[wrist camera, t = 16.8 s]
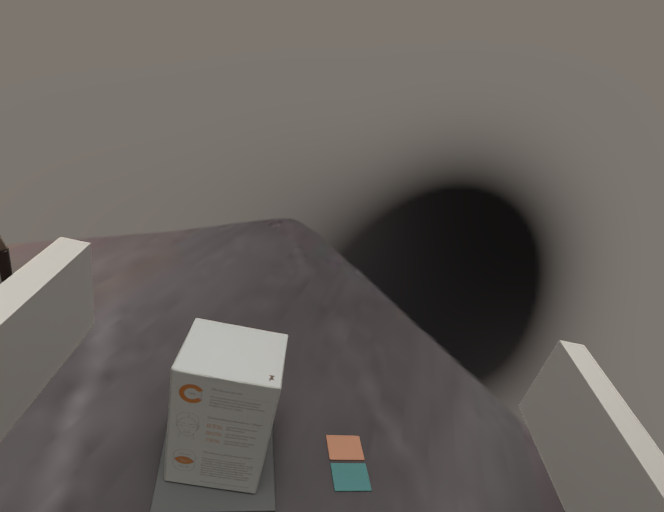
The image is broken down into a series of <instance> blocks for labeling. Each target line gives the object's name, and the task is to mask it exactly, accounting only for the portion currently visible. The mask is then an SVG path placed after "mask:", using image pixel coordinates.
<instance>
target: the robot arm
mask: <svg viewBox="0 0 664 512" xmlns="http://www.w3.org/2000/svg"><path fill="white" fill-rule="evenodd" d="M93 326H94V309H93V284H92V260H91V243H88V242H83V241H78V240H73V239H68V238H64V237H60V238H58V239H57V240H56V241H55V242H53V243H52V244H51V245H49V246H48V247H47V248H46V249H44V250H43V251H42V252H41V253H39V254H38V255H37V256H35V257H34V258H33V259H32V260H30V261H29V262H28V263H27V264H25V265H24V266H23V267H21V268H20V269H19V270H18V271H16V272H15V273H14V274H13V275H11V276H10V277H9V278H7V279H6V280H5V281H4V282H2V283H1V284H0V442H1V441H2V440H3V438H4V437H5V436H6V435H7V433H8V432H9V431H10V430H11V428H12V427H13V426H14V425H15V423H16V422H17V421H18V420H19V418H20V417H21V416H22V415H23V413H24V412H25V411H26V410H27V408H28V407H29V406H30V405H31V403H32V402H33V401H34V400H35V399H36V397H37V396H38V395H39V394H40V392H41V391H42V390H43V389H44V387H45V386H46V385H47V384H48V382H49V381H50V380H51V379H52V377H53V376H54V375H55V374H56V372H57V371H58V370H59V369H60V367H61V366H62V365H63V364H64V362H65V361H66V360H67V359H68V357H69V356H70V355H71V354H72V352H73V351H74V350H75V349H76V347H77V346H78V345H79V344H80V342H81V341H82V340H83V339H84V337H85V336H86V335H87V334H88V332H89V331H90V330H91V329H92V327H93ZM518 407H519V409H520V411H521V414H522V416H523V418H524V420H525V423H526V425H527V427H528V429H529V432H530V434H531V436H532V438H533V441H534V443H535V445H536V447H537V450H538V452H539V454H540V456H541V459H542V461H543V463H544V465H545V468H546V470H547V472H548V474H549V477H550V479H551V481H552V483H553V486H554V488H555V490H556V492H557V495H558V497H559V499H560V501H561V504H562V506H563V508H564V510H565V512H664V455H663V453H662V452H661V451H660V449H659V448H658V446H657V445H656V444H655V442H654V441H653V440H652V438H651V437H650V435H649V434H648V433H647V431H646V430H645V429H644V427H643V426H642V425H641V423H640V422H639V420H638V419H637V418H636V416H635V415H634V413H633V412H632V411H631V409H630V408H629V406H628V405H627V404H626V402H625V401H624V400H623V398H622V397H621V396H620V394H619V393H618V391H617V390H616V389H615V387H614V386H613V384H612V383H611V382H610V380H609V379H608V378H607V376H606V375H605V373H604V372H603V371H602V369H601V368H600V367H599V365H598V364H597V362H596V361H595V360H594V358H593V357H592V355H591V354H590V353H589V351H588V350H587V349H586V347H585V346H584V345H581V344H576V343H571V342H566V341H562V340H559V341H558V343H557V345H556V347H555V348H554V349H553V351H552V353H551V354H550V356H549V357H548V359H547V361H546V362H545V364H544V365H543V367H542V369H541V371H540V372H539V374H538V375H537V377H536V378H535V380H534V382H533V383H532V385H531V386H530V388H529V390H528V391H527V393H526V394H525V396H524V398H523V399H522V401H521V402H520V404H519V406H518Z"/></svg>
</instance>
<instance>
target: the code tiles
mask: <svg viewBox="0 0 664 512" xmlns="http://www.w3.org/2000/svg"><path fill="white" fill-rule="evenodd" d="M326 440H327V446H328V452H329V459H330V460H364V456H363V451H362V447H361V443H360V439H359V436H342V435H326ZM330 465H331V471H332V478H333V484H334V490H335V491H372V490H371V486H370V481H369V477H368V473H367V469H366V464H365V463H330Z"/></svg>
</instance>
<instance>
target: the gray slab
mask: <svg viewBox="0 0 664 512" xmlns="http://www.w3.org/2000/svg"><path fill="white" fill-rule="evenodd" d="M166 438H167V430H166V435H165V440H164V445H163V450H162V455H161V460H160V465H159V470H158V475H157V480H156V485H155V490H154V494H153V499H152V504H151V509H150V512H275V489H274V463H273V437H272V430H271V435H270V439H269V443H268V448H267V452H266V457H265V461H264V465H263V468H262V472H261V476H260V480H259V484H258V488H257V491H256V493H255V494H253V493H246V492H240V491H232V490H225V489H218V488H211V487H205V486H198V485H191V484H184V483H178V482H171V481H165V480H164V467H165V452H166Z"/></svg>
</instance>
